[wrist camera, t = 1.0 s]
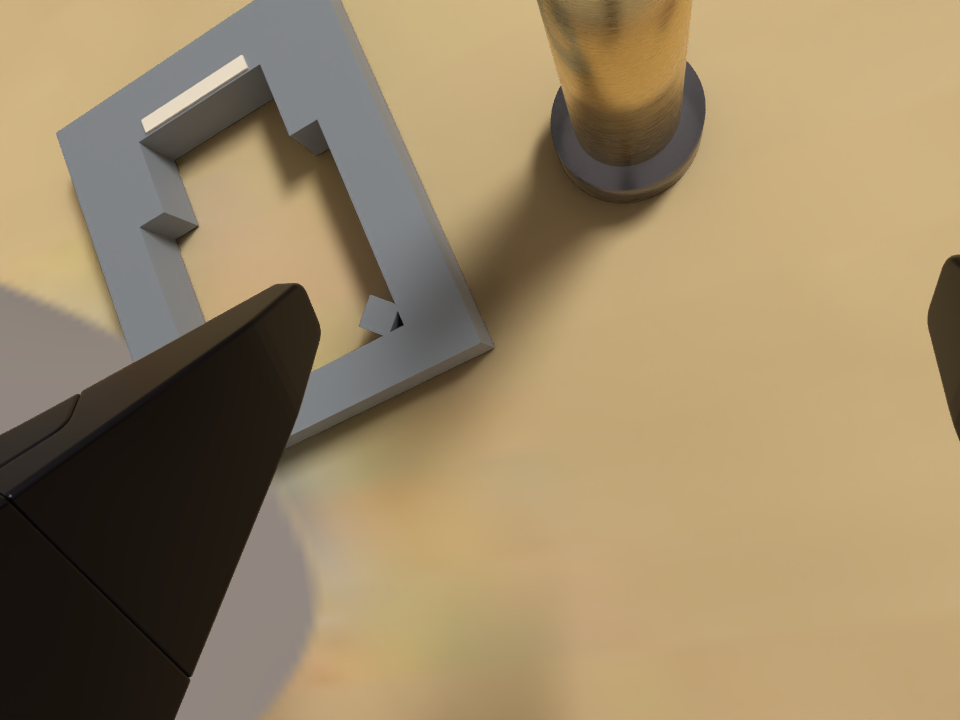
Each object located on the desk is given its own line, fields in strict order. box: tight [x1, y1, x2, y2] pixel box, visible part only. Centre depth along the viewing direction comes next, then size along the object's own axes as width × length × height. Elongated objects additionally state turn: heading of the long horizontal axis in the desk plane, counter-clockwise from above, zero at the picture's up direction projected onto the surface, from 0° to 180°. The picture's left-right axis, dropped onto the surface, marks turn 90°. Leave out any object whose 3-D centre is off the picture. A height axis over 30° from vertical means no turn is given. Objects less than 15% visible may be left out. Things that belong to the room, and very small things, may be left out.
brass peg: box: [537, 0, 706, 203], centre depth 16 cm, size 5×5×13 cm
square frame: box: [56, 0, 495, 449], centre depth 25 cm, size 16×13×2 cm
